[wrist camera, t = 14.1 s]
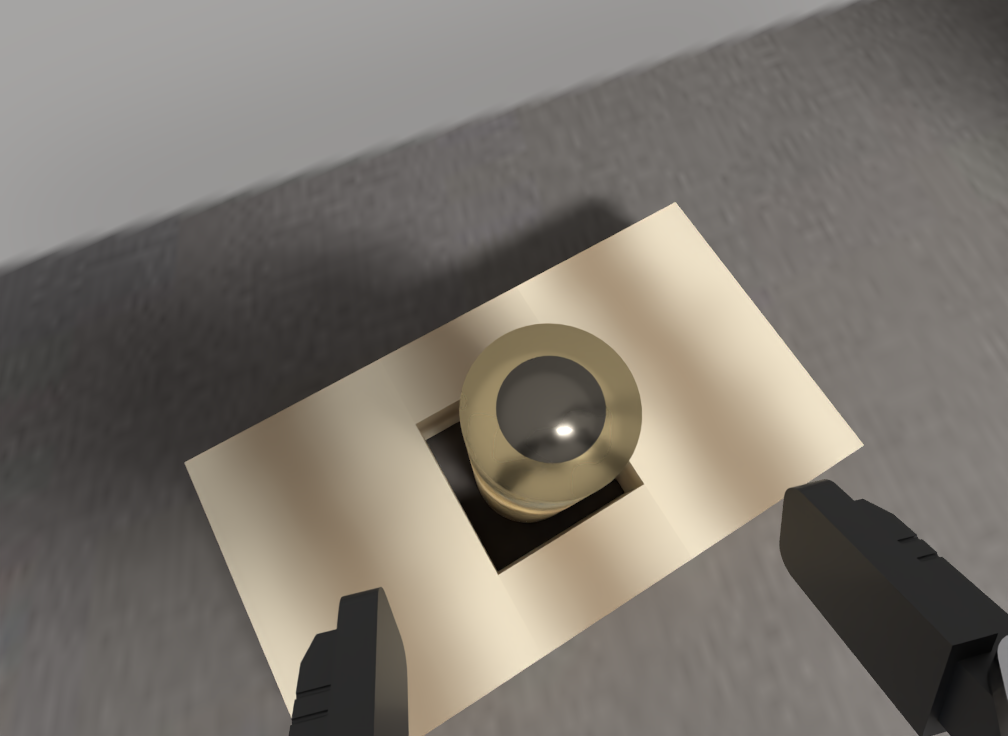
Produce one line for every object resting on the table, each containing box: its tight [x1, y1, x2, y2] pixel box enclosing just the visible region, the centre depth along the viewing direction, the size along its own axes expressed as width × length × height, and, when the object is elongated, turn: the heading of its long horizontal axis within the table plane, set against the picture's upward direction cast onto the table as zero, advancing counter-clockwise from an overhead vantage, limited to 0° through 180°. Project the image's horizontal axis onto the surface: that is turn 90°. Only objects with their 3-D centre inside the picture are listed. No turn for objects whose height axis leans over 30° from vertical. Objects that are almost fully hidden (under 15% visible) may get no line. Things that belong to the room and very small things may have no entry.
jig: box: [184, 202, 864, 736], centre depth 21 cm, size 20×11×3 cm, turn 120°
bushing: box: [459, 323, 642, 523], centre depth 17 cm, size 4×4×10 cm
